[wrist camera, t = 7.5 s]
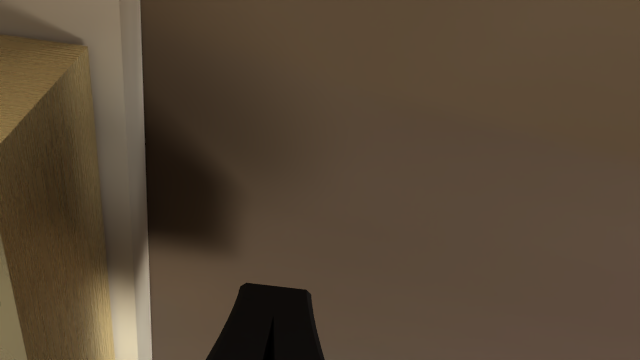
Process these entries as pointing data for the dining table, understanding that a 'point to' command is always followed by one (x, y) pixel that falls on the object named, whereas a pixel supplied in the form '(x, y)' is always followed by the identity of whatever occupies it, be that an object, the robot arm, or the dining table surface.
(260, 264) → the dining table surface
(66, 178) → the tan wooden arch piece
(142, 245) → the board
